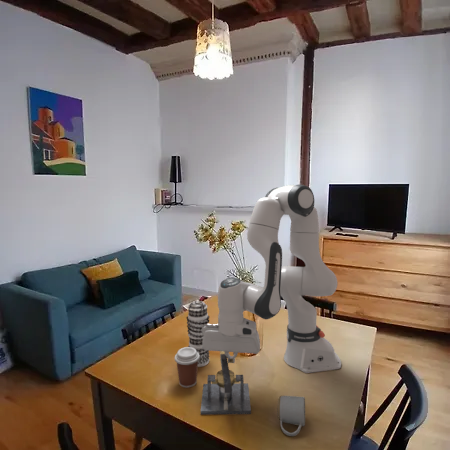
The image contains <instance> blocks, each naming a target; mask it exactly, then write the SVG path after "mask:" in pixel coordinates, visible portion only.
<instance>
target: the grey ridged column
mask: <svg viewBox="0 0 450 450" xmlns="http://www.w3.org/2000/svg"><path fill="white" fill-rule="evenodd" d="M187 309H188V312H187V313H188V314H187V316H186V317H185V318H186V321H187V322H186V324H187V325H186V327H187V332H188V333H187V336H188V337H189V338H188V339H189V340H188V346H187V347H192V348H194V349H196V351H197V352H198V353H199V355H200V358H199V360H198V367H197V368H201V367H205V366H207V365H208V364H209V362H210V352H209V351H208V350H204V349H203V347H202V343H203V336H204V335H203V334H202V327H203V326H204V325H206V324H210V315H208V314H209V313H208V305H207V304H206V303H205V302H204V301H203V300H194V301H192V302H190V303H189V305H187Z"/></svg>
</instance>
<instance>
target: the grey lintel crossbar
mask: <svg viewBox="0 0 450 450" xmlns="http://www.w3.org/2000/svg"><path fill="white" fill-rule="evenodd" d="M219 357H220V358H219V359H220V360H219V361H220V367H221V369H219V371H217V373H216V378H215V382H211V384H217V385H218V386H219V387H222V388H224V390H225V393H231V386H233V385H234V384H238V383H240V381H236V377H235V373H234V371H233V370H230V368H229V363H228V358H227V357H226V355H225V352H224V351H219Z"/></svg>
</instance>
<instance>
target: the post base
mask: <svg viewBox="0 0 450 450" xmlns="http://www.w3.org/2000/svg"><path fill="white" fill-rule="evenodd" d="M216 378H217V374H208V375H207V383H203V387H202V396H201V405H200V415H204V416H207V415H214V416H215V415H251V414H252V409H251V398H250V389H249V383H244V380H245V379H244V378H245V377H244V374H235V378H236V381H239V382H237V383H234V385H233V386H231V393H225V390H224V388H222V387H219V386H218V385H217V384H212V382H215V379H216Z"/></svg>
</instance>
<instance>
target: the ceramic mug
mask: <svg viewBox="0 0 450 450" xmlns="http://www.w3.org/2000/svg"><path fill="white" fill-rule="evenodd" d="M276 409H277V413H276V414H277V419H278V421H279V422H280V428H281V431H282V432H283V433H284V434H285V435H286V436H288V437H296V436H297V435H298V434H299V433H300V431H301V429H302V427H305V425H306V399H305V396H296V395H295V396H294V395H280V396H278V399H277V408H276ZM283 423H286V424H290V425H291V424H292V425H296V426H298V428H297V429H296V430H295V431H293V432H289V431H288V430H286V429H285V428H284V427H283Z"/></svg>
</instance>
